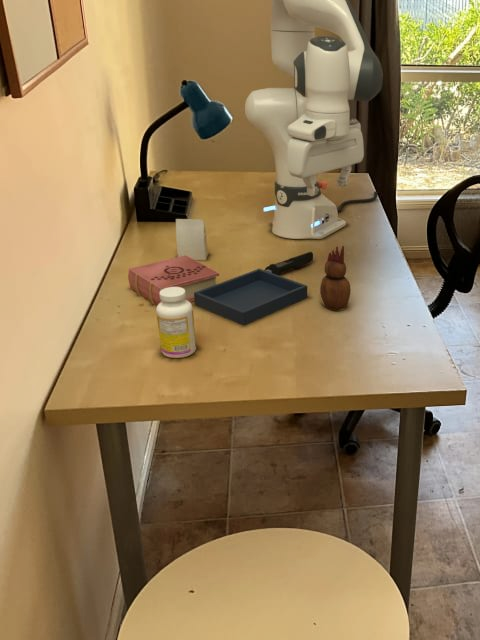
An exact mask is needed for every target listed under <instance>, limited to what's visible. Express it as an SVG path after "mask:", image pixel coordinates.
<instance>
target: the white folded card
mask: <svg viewBox="0 0 480 640" xmlns="http://www.w3.org/2000/svg"><path fill="white" fill-rule="evenodd" d="M175 240H176V251H177V257H180V256H184V255H187V256H189V257H191V258H193V259H194V260H196V261H206V260H207V258H208V255H209V251H208V239H207V231H206V225H205V219H203V218H202V219H198V218H195V219H194V218H189V219H188V218H175Z"/></svg>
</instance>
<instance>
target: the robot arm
mask: <svg viewBox="0 0 480 640" xmlns="http://www.w3.org/2000/svg"><path fill="white" fill-rule="evenodd" d="M270 7H271V8H270V43H271V44H270V47H271V61H272V63H273V65H274V66H275V68H277V69H278V70H280V71H281V72H283V73H284V74H286V75H288V76H290V77H292V78H293V87H289V88H288V87H266V88H261V89H256V90H252V91H251V92H250V93H249V94H248V96H247V98H246V99H245V102H244V114H245V118H246V119H247V121H248V123H249V125H250V126H251V127H252V128H253V129H254V130H256V131H257V132H259V133H260V134H261V135H262V136H263V137H264V139H265V140H266V141H267V142H268V144H269V146H270V149H271V151H272V154H273V158H274V159H273V160H274V168H275V181H274V188H273V189H274V195H275V198H274V199H275V200H274V205H271V206H266V207H263V212H270V211H273V210H274V212H273V220H272V222H271V225H272V228H271V232H272V234H274V235H275V236H277V237H281V238H285V239H293V240H294V239H295V240H305V239H307V240H308V239H312V240H313V239H316V240H322V239H324V238H326V237H328V236H330V235H331V234H333V233H335V232H337V231H339V230H340V229H343V228H344V227H346V226H347V222H346V220H344V219H342V218H340V217H339V213H341V212H342V211H343V208H344V207H345V206H346V205H350V204H357V203H358V204H359V203H369V202H373V201H375V200H376V199H377V197H378V195H379V193H378V191H376V190H375V191H373V197H369V198H362V199H350V200H349V199H348V200H346V201H343V202H341V204H340V206H339V208H338V207H337V204H335V202H333V201H331V200H330V199H329V198H328V197H327V196H325V195H324V194H322V190H326V189H327V188H328V183H327V182H326V181H323V180H320V181H317V175H319V174H324V173H327V172H331V171H334V170H337V169H338V170H339V169H340V172H339V175H338V177H336V185H337V187H340V188H343V187H347V186H348V178H349V176H350V174H351V172H352V165H356V164H359V163H362V161H363V159H364V157H365V149H364V148H365V147H364V146H365V145H364V137H363V132H362V125H361V123H360V121H359V120H358V119H357V118H351V117H350V116H351V114H350V112H351V111H350V104H349V101H354V102H355V101H356V102H370V101H371V100H373V99H374V98H375V97H376V96H377V95H378V94H379V93H380V92H381V90H382V87H383V82H384V81H383V79H384V78H383V77H384V76H383V75H384V73H383V68H382V63H381V62H380V59H379V57H378V56H377V54H376V53H375V52H374V50H373V49H372V47H371V45H370V43H369V40H368V38H367V36H366V33H365V31H364V29H363V26H362V25H361V22H360V20H359V17H358V15H357V13H356V11H355V9H354V7H353V5H352V3H351V1H350V0H271V6H270ZM315 28H318V29H322V30H325V31H328V32H331V33H333V34H335V35H336V36H338V37H339V38H337V37H335V36H326V35H322V36H321V35H320V36H316V30H315ZM321 189H322V190H321Z"/></svg>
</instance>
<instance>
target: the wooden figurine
mask: <svg viewBox="0 0 480 640" xmlns="http://www.w3.org/2000/svg"><path fill="white" fill-rule="evenodd" d="M324 273H325V275H324V276H323V277H322V280H321V282H320V287H319V295H320V298H321V301H322V303H323V304H324V307H326V308H327V309H329V310H331V311H343V310H344V309H345V308H347V306H348V304H349V301H350V298H351V289H352V288H351V284H350V281H349V280H348V278H347V277H346V274H347V265H346V263H345V245H342V246H341V249H340V252H339V246H336V247H335V250H334V249H333V250H331V252H328V256H327V261H326V262H325V264H324Z"/></svg>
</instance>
